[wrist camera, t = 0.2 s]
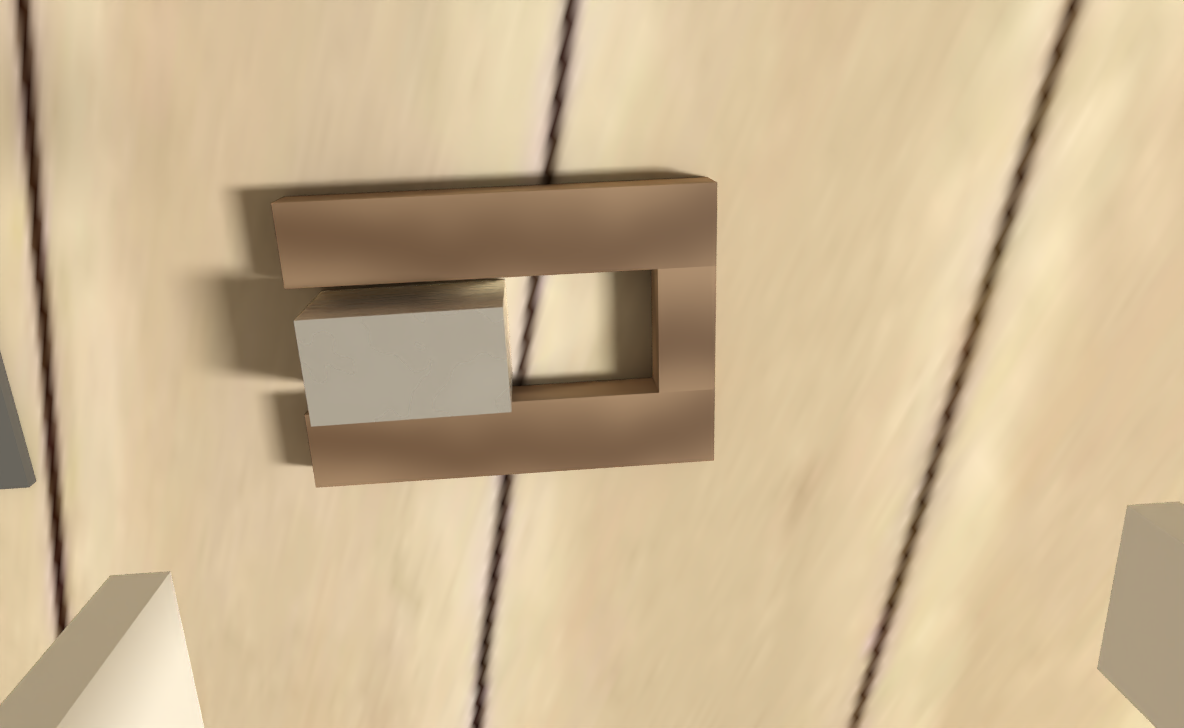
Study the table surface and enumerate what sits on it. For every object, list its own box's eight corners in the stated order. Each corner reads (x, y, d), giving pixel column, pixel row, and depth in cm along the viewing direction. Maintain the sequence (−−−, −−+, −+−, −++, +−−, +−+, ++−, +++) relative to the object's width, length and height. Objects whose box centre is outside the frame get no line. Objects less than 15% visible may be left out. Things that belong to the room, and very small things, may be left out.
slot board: (284, 196, 35) (270, 203, 33) (707, 177, 37) (717, 182, 35) (325, 467, 39) (316, 487, 38) (704, 442, 41) (713, 460, 39)
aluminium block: (322, 290, 37) (293, 320, 32) (505, 278, 37) (502, 307, 33) (336, 383, 38) (311, 426, 34) (512, 371, 39) (511, 412, 34)
